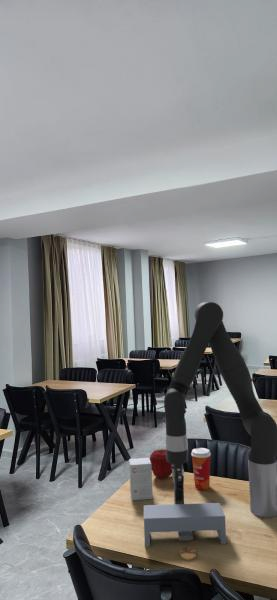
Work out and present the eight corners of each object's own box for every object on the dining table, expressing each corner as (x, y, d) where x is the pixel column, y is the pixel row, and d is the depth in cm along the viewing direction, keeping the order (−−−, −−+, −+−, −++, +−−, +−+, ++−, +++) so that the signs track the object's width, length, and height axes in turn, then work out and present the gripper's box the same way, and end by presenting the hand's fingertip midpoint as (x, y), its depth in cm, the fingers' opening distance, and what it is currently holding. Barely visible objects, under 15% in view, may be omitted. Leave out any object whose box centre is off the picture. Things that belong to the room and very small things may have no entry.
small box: (150, 491, 149) (149, 457, 149) (153, 499, 143) (151, 463, 143) (129, 493, 148) (128, 458, 149) (131, 500, 142) (130, 464, 142)
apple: (165, 485, 154) (163, 455, 154) (144, 478, 161) (143, 450, 161) (180, 476, 162) (179, 448, 162) (160, 470, 169) (159, 443, 169)
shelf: (220, 528, 121) (219, 502, 122) (226, 543, 113) (225, 516, 114) (144, 531, 121) (143, 505, 122) (144, 546, 113) (143, 518, 114)
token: (194, 551, 111) (194, 546, 111) (197, 561, 106) (196, 556, 106) (179, 551, 111) (178, 547, 111) (180, 561, 106) (180, 557, 106)
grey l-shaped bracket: (184, 510, 133) (183, 477, 134) (192, 539, 116) (191, 501, 116) (173, 511, 133) (172, 478, 134) (179, 540, 116) (177, 502, 116)
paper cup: (189, 484, 154) (187, 448, 154) (206, 481, 156) (204, 446, 157) (197, 492, 146) (196, 455, 147) (215, 489, 149) (214, 452, 149)
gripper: (190, 453, 126) (192, 507, 125) (184, 440, 140) (186, 488, 139) (167, 454, 126) (169, 508, 125) (164, 440, 140) (166, 489, 139)
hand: (178, 497), depth 132 cm, fingers closed on grey l-shaped bracket, 3 cm apart
